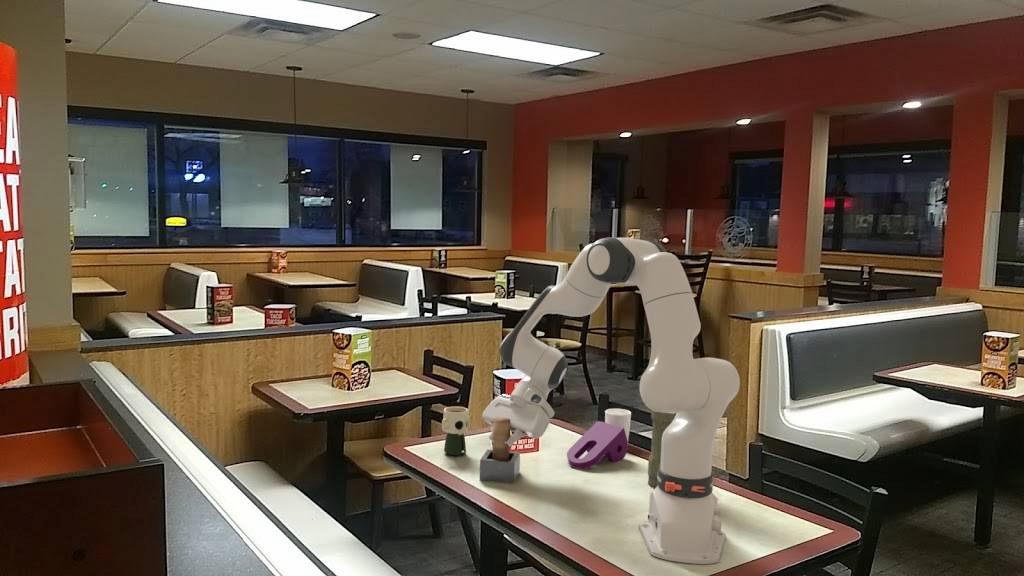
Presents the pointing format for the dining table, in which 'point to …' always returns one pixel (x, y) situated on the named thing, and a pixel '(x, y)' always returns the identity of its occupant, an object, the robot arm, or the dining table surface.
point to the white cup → (619, 419)
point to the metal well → (499, 468)
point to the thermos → (657, 443)
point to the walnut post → (501, 438)
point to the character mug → (455, 429)
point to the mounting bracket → (599, 445)
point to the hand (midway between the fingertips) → (499, 442)
